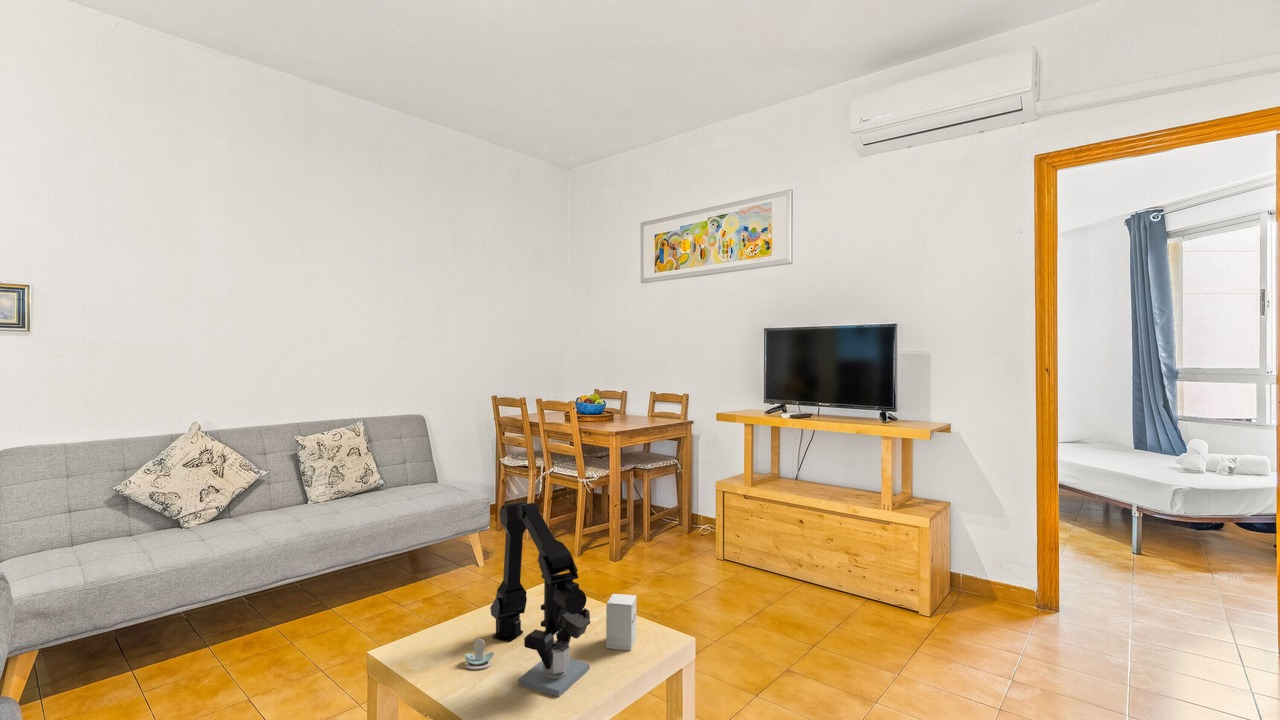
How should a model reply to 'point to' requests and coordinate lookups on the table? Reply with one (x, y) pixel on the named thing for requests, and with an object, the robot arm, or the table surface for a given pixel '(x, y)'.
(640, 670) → the table surface
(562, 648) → the hub
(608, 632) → the supplement box
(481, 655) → the pacifier
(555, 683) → the block
